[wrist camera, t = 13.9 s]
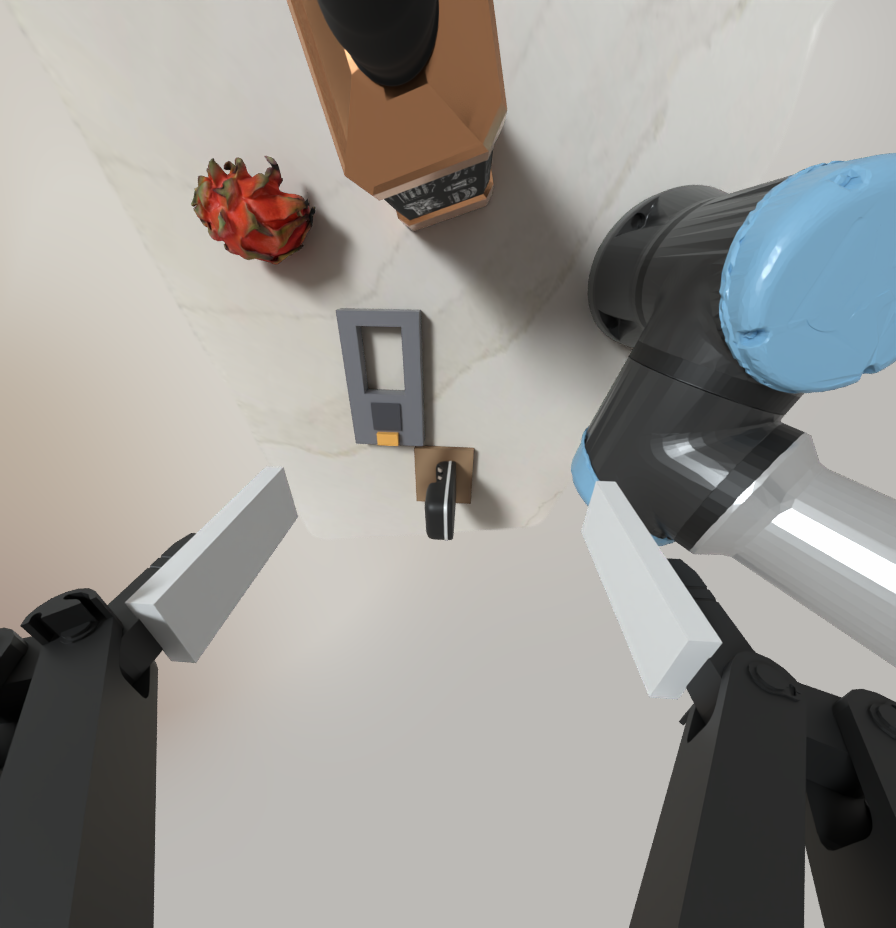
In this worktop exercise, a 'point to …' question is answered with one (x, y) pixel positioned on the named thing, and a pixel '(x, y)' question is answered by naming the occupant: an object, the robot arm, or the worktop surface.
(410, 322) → the grey flat piece
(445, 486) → the battery charger
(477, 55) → the whiskey bottle
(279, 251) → the dragon fruit
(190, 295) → the worktop surface
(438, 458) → the walnut board
